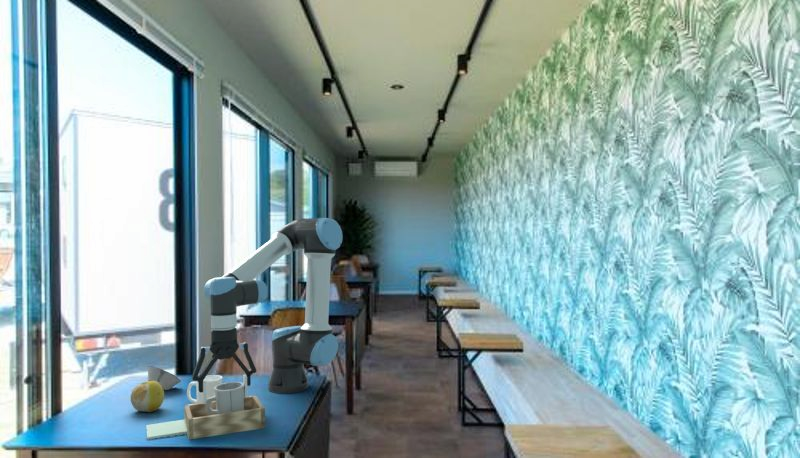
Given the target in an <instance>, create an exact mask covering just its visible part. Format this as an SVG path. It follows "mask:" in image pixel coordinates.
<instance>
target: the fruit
mask: <svg viewBox="0 0 800 458" xmlns="http://www.w3.org/2000/svg"><path fill="white" fill-rule="evenodd" d="M164 399H165V391H164V389H163V388H162V386H161V385H160V383H158V382H156V381H148V380H146V381H144V382H140V383H139V384H138V385H136V386H135V387H134V388H133V389H132V390H131V393H130V402H131V405H132V408H134V410H136V411H138V412H147V413H152V412H155V411H157V410H159V409H160V408H161V406H162V404H163V403H164Z"/></svg>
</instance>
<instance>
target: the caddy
mask: <svg viewBox="0 0 800 458" xmlns="http://www.w3.org/2000/svg"><path fill="white" fill-rule="evenodd" d="M183 407H184V411H183V412H184V419H185V424H186V429H187V434H186V435H187V439H188V440H195V439H200V438H201V439H202V438H207V437H214V436H221V435H228V434H229V435H230V434H234V433H241V432H247V431H253V430H260V429H265V428H266V408H265V407H264V405H263V404H262V403H261V401H260V399H259V398H258V397H257V396H256V395H254V394H253V395H247V398H245V397H244V410H243V411H236V412H229V413H223V414H209V413H208V412H207V410H206V404H203V403H188V404H184V405H183ZM210 408H212V409H213V410H216V401H213V402H211V403H210Z"/></svg>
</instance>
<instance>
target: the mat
mask: <svg viewBox="0 0 800 458" xmlns="http://www.w3.org/2000/svg"><path fill="white" fill-rule="evenodd" d="M145 428H146V430H147V431H146V441H149V439H150V440H156V439H155V438H157V439H161V438H160V437H164V438H167V437H166V436H170V437H175V435H177V436H182V435H183V434H184V435H187V429H186V424H185V418H184V419H179V420H178V419H177V420H172V421H165V422H159V423H158V422H157V423H151V424H146V427H145Z"/></svg>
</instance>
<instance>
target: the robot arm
mask: <svg viewBox="0 0 800 458" xmlns="http://www.w3.org/2000/svg"><path fill="white" fill-rule="evenodd" d="M342 243H343V231H342V228H341V225H340V224H339V223H338V222H337V220H335V219H333V218H329V217H313V218H312V217H311V218H310V217H309V218H305V217H304V218H303V217H302V218H298V219H295V220H292V221H290V222H288V223H287V224H285V225H284V226H282V227H281V228H279V229H278V230H277V231H276V232H274V233H273V234H271V238H270V239H269V240H268V241H267V242H265V243H264V244H262V246H260V247H259V248H258V249H256V250H255V251H254V252H252V253H251V254H250V255H248V257H245V258H244V259H243V260H242V261H240V262H239V263H238V264H237V265H235V266H234V267H232V268H231V269H230V270H229V271H228V272H226V273H225V274H224V275H223V276H221V277H220V276H219V277H217V276H216V277H214V278H213V277H212V279H209V280H208V281H207V282H206V283H205V284H204V288H203V294H204V296H205V298H206V299H207V300H209V301H210V328H211V330H210V341H211V342H210V345H209V346H204V345H203V346H201V347H200V348H199V355H198V356H199V357H198V358H197V362H196V364H195V367H194V370H193V373H192V376H191V379H192V382H196V381H198V388H199V392H200V393H201V392H202V397H203V404H206V381H205V380H204V379H205V377H206V376H208V374H209V372H210V371H211V369H212V368H213V366H214V365H215V363H217V361H218V360H220V361H222V360H224V359H226V360H230V359H231V358H233V360H234V361H235V362H236V363H237V365H238V366H239V367H240V368H241V369H242V371H243V372H244V373H245V374H242V383H243V384H244V397H245V398H247V396H248V387H249V386H251V384H252V383H251V381H252V380H251V377H252V375H253V374H256V373H257V369H256V366H255V363H254V361H253V359H252V356H251V354H250V352H249V344H248V343H247V342H246V341H243V342H241V343H238V328H237V324H238V321H237V320H238V319H237V307H240V306H249V305H257V304H259V303H263V302H264V301H265V300H266V299H267V297H268V286H267V284H266V283H265V282H264V281H263V280H261V279H256V278H258V277H259V276H260V275H261V274H262V273H264V272H265V271H266V270H267V269H268V268H270V267H271V266H272V265H274V263H276V262H277V261H278V260H279V259H281V258H282V257H283V256H287V255H290V254H291V253H292V252H294V251H297V250H303V254H304V255H305V257H306V258H307V265H306V266H307V268H306V289H305V290H306V291H305V312H304V314H305V315H304V324H303V325H294V326H285V327H281V328H276V329H275V330H273V332H272V336H271V337H272V339H271V350H272V351H271V353H272V370H271V373H270V376H269V379H268V383H267V389H268V391H269V392H271V393H274V394H294V393H299V392H303V391H305V390H308V388H309V385H310V384H309V379H308V375H307V373H306V369H305V366H304V365H305V364H306V365H310V366H313V367H325V366H328V365H329V364H331V363H332V362H333V360H334V359H335V358H336V356H337V353H338V349H339V341H338V339H337V337H336V336H335V335H334V334H333V328H332V326H331V325H330V324H329V315H330V313H329V312H330V309H329V308H330V289H331V286H330V285H331V267H332V266H331V264H332V259H333V258H334V257H335V255H336V250H337V249H339V248H340V247H341V245H342ZM239 348H240V350H241V351H242V352H243V354H244V356H245V359H246V361H247V364H248V365H249V368H250V369H248V368H247V366H245V364H244V363H243V362H242V360H241V359H240V358H239V356H238V355H237V354H236V352H237V351H238V349H239ZM209 352H211V353H212V355H211V357H210V359H209V360H208V362H207V363H206V365H205V366H204V368H203V369H202V366H203V363H204V361H205V358H206V355H208V353H209ZM201 369H202V371H201ZM200 372H201V373H200Z"/></svg>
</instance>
